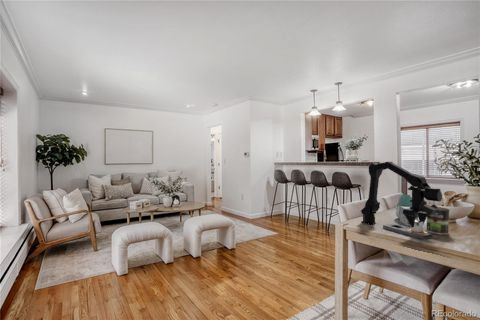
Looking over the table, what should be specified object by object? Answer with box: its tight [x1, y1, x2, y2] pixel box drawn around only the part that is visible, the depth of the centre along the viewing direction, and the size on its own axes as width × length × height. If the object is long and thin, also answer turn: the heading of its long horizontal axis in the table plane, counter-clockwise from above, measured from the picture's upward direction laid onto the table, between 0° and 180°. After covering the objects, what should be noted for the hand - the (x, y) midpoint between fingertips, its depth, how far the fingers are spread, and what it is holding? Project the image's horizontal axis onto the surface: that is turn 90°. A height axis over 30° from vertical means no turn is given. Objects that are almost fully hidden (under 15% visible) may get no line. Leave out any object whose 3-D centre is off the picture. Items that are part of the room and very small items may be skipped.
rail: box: [382, 223, 434, 241], centre depth 142 cm, size 22×10×2 cm, turn 26°
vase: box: [395, 194, 412, 220], centre depth 171 cm, size 12×12×18 cm
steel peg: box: [410, 220, 424, 233], centre depth 137 cm, size 4×4×8 cm
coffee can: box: [426, 206, 450, 236], centre depth 143 cm, size 10×10×14 cm
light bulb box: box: [399, 206, 419, 227], centre depth 159 cm, size 11×7×11 cm, turn 168°
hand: (417, 226), depth 136 cm, fingers open, 9 cm apart
